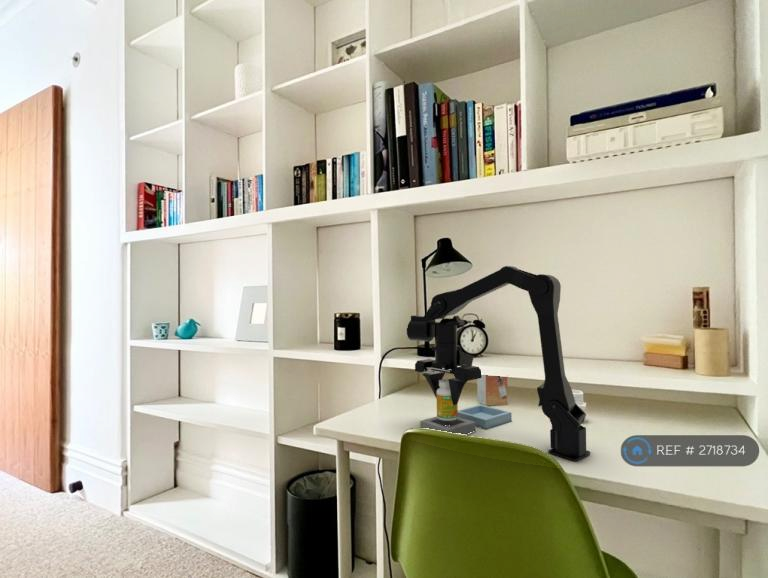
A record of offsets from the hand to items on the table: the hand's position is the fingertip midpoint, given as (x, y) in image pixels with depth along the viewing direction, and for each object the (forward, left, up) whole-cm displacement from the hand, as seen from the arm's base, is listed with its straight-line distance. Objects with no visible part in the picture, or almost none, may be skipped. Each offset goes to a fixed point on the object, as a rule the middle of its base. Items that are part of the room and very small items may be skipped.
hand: (447, 402), depth 111 cm
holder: (0, 0, -7) cm, 7 cm away
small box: (+10, -31, -8) cm, 33 cm away
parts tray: (0, -14, -7) cm, 16 cm away
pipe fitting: (-16, -33, -8) cm, 38 cm away
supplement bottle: (0, 0, -4) cm, 4 cm away
